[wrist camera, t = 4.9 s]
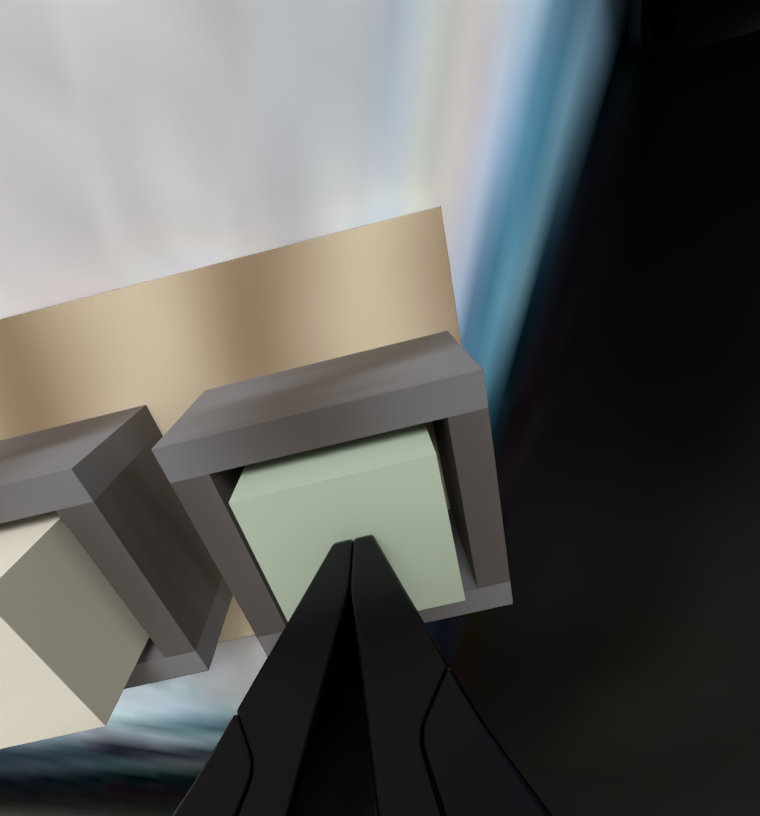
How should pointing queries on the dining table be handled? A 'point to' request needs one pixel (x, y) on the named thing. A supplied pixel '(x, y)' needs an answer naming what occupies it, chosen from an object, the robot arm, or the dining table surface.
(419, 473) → the button sage
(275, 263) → the button panel
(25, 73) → the dining table surface
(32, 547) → the button cream
